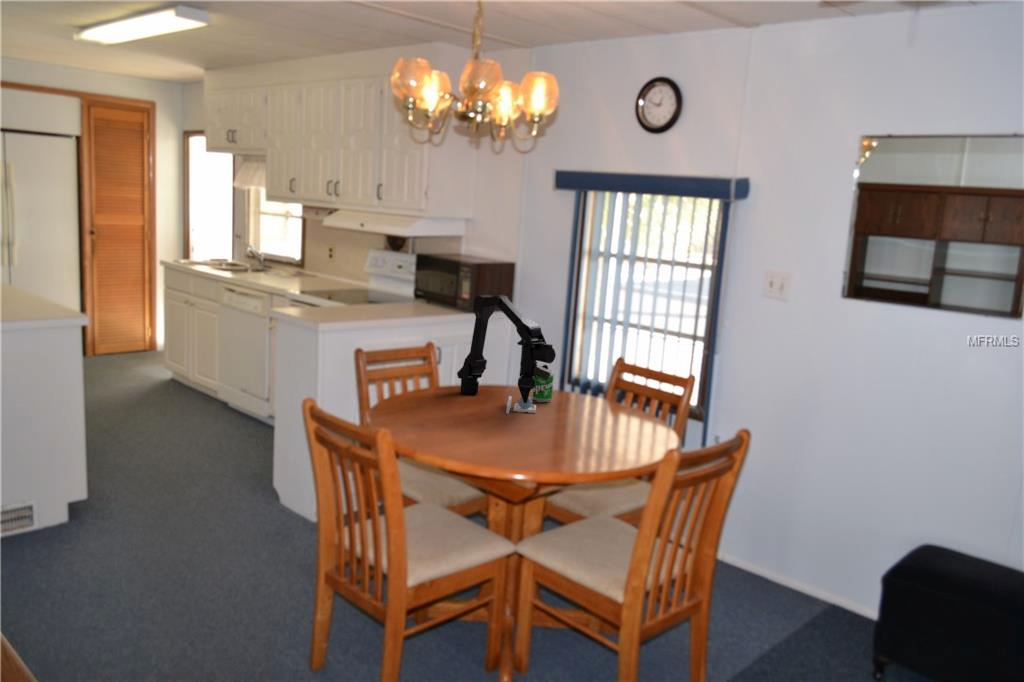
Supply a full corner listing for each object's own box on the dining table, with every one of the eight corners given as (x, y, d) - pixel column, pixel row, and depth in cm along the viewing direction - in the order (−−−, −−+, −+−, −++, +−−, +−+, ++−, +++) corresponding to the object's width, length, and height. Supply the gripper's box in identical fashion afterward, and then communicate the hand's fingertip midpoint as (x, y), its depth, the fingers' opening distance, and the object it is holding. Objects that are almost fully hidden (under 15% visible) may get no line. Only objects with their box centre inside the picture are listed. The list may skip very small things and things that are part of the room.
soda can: (529, 398, 313) (531, 368, 311) (546, 398, 317) (548, 368, 315) (537, 403, 307) (539, 373, 305) (555, 402, 310) (557, 372, 308)
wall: (506, 413, 289) (506, 405, 289) (508, 403, 303) (509, 396, 303) (509, 413, 289) (509, 405, 289) (511, 404, 303) (511, 396, 303)
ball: (517, 409, 294) (518, 396, 293) (518, 406, 299) (519, 393, 298) (531, 411, 293) (532, 397, 293) (531, 407, 298) (532, 394, 298)
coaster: (513, 411, 292) (513, 408, 292) (514, 406, 300) (515, 403, 300) (535, 413, 292) (535, 410, 292) (536, 407, 300) (536, 404, 300)
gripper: (550, 365, 283) (547, 408, 286) (550, 355, 302) (547, 395, 304) (519, 362, 284) (516, 405, 286) (521, 353, 302) (518, 393, 305)
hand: (525, 400), depth 295 cm, fingers open, 9 cm apart
